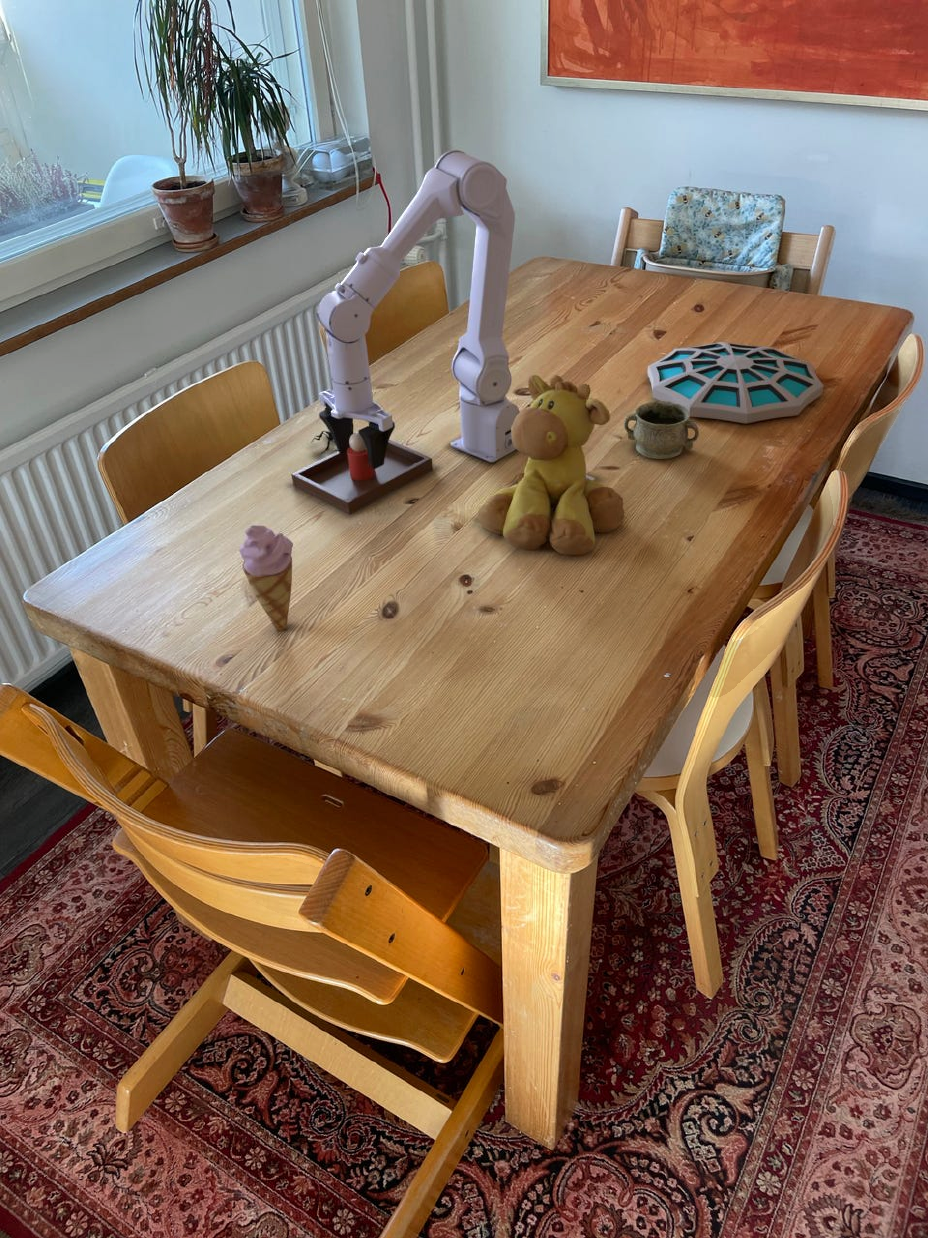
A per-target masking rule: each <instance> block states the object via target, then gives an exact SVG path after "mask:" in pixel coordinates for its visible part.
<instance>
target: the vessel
mask: <svg viewBox="0 0 928 1238" xmlns="http://www.w3.org/2000/svg"><path fill="white" fill-rule="evenodd" d="M634 412H635V413H634ZM634 412H633V413H629V414H628V415H627V416H626V417H625V419H624V423H623V425H624V430H625V431H626V433H627V439H628V440H630V441H635V440H636V444H635V449H636V451H637V452H638V453H639V455H640V456H641V455H642V456H643V457H645V458H649V459H653V460H667V459H672V458H675V457H678V456H679V455H680V454H681V453H683V445H684V444H685V449H686V450H690V449H692V448H693V447H694V442H696V441H697V440H698V438H699V435H700V431H699V428H698V426H697V425H698V424H696V422H695V421H693V420H689V419H690V418H691V417H690V412H689V411H688V410H687V409H686V408H685V407H684V406H682V405H680V404H677V403H673V402H663V401H660V400H655V401H650V402H646V403H643V404H641V405H639V406H638V407H636V409H635V411H634ZM631 421H634V422H635V423H634V425H633V429H630V427H629V423H630V422H631ZM689 429H692V430H693V431H694V436H693V437H691V438H690V437H689Z"/></svg>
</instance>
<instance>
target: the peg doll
mask: <svg viewBox="0 0 928 1238" xmlns="http://www.w3.org/2000/svg"><path fill="white" fill-rule="evenodd" d="M349 444H350V447H349V448H348V449H347V454H348V462H349V469H350V476H351V478H352V479H354V480H359V481H363V480H368V479H371V478H373V477H374V476H375V474H376V472H375V469H373V468H372V467H371V465H370V462H369V457H368V452H367V449H366V446H365V443H364V441H363V439H362V437H361V436H360V434H359V432H358V431H356V432H353V434H352V435H351V437H350V439H349Z"/></svg>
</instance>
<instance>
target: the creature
mask: <svg viewBox="0 0 928 1238" xmlns="http://www.w3.org/2000/svg"><path fill="white" fill-rule="evenodd" d="M326 428H327V427H326ZM324 432H325V433H324ZM351 433H352V434H354V419H352V422H351ZM323 435H325V437H326V439H327V444H326V447H325V449H324V450H323V451H321V452H320V453H318V454H317V455H316V456H317V457H319V456H321V455H323V454H324V453H325V452H327V451H330V449H329V448H330V444H331V442H332V443H335V442H334V439H333V437H332V435H331V433H330V431H329V429H328V428H327V430H321V432H320V434H318V435H316V436H314V437H313V439H312V441H311V443H310V444H312V443H313V442H314V440H316V441H320V440H321V438H322V437H323ZM333 451H335V452H337V451H338V449H335V450H332V452H333Z"/></svg>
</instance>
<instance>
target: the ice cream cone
mask: <svg viewBox="0 0 928 1238" xmlns="http://www.w3.org/2000/svg"><path fill="white" fill-rule="evenodd" d="M244 533H245V536H247V537H245V538H244V541H243V544H242V545H241V546H240V547H239V548H238V552H239V553H240V556H241V559H242V560H243V563H242V571H243V573H244V575H245V577H246V579H247V582H248V584H249V586H250V587H251V589H252V591H253V593H254V595H255V597H256V599H257V601H258V602H259V604H260V606H261V607H262V609H263V611H264V612H265V614H266V616H267V618H268V619H269V621H270V622H271V624H272V625H273V627H274V629H275V630H276V631H278V632H282V631H285V630H286V629H287V626H288V619H289V611H290V604H291V595H292V582H293V556H292V552H293V547H294V543H293V542H292V540H291V539H290V538H288V536H285V535H284V534H283V533H282V532H279V533H277V534H276V533H275V532H274V531H273V530H272V529H271V528H268V527H267V526H265V525H250V526H249V527H247V528H246V529H245V531H244Z"/></svg>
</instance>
